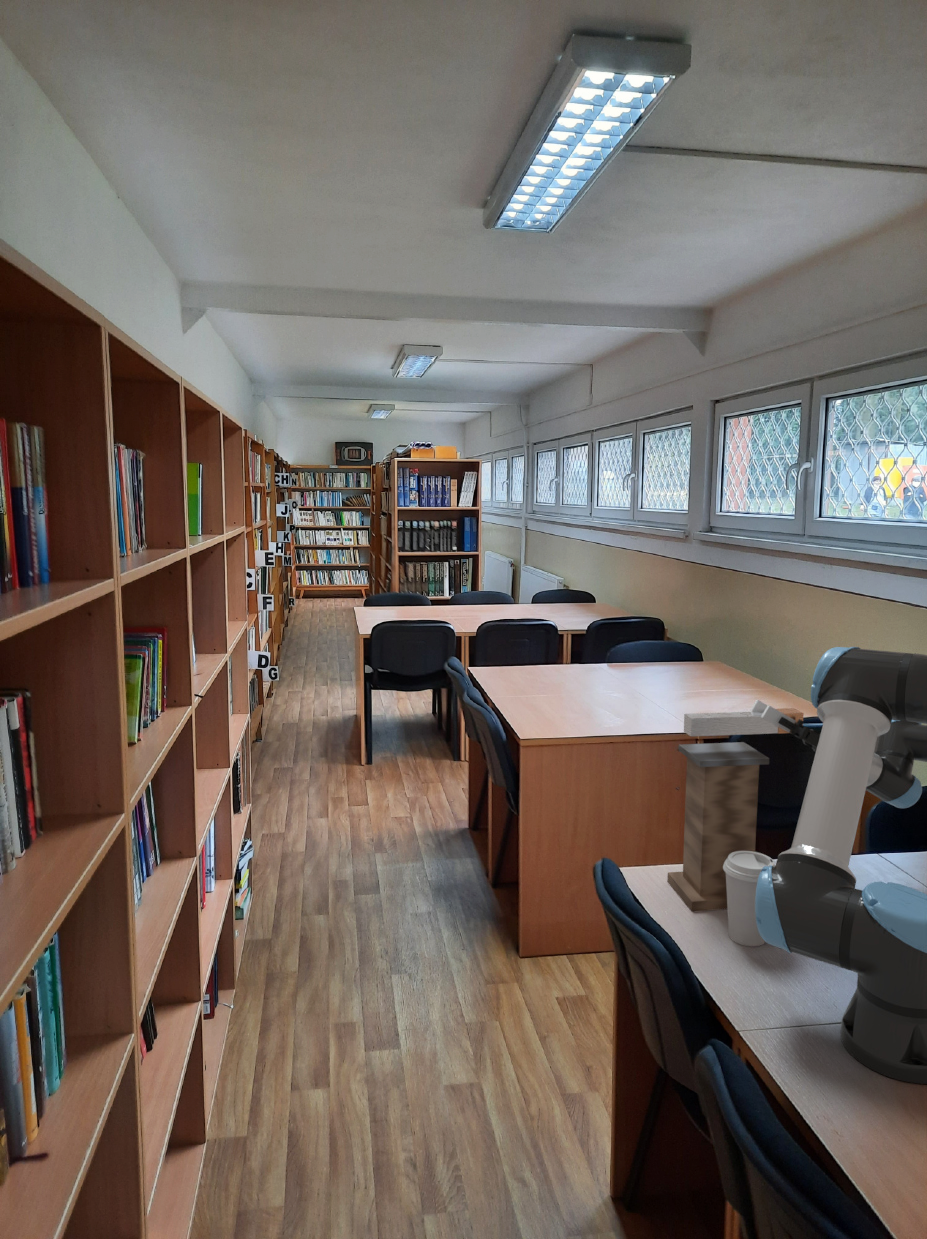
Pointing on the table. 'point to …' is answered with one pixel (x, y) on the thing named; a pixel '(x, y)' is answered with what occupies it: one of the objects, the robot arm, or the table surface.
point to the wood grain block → (734, 723)
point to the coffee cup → (743, 895)
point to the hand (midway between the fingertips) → (759, 708)
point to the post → (716, 818)
